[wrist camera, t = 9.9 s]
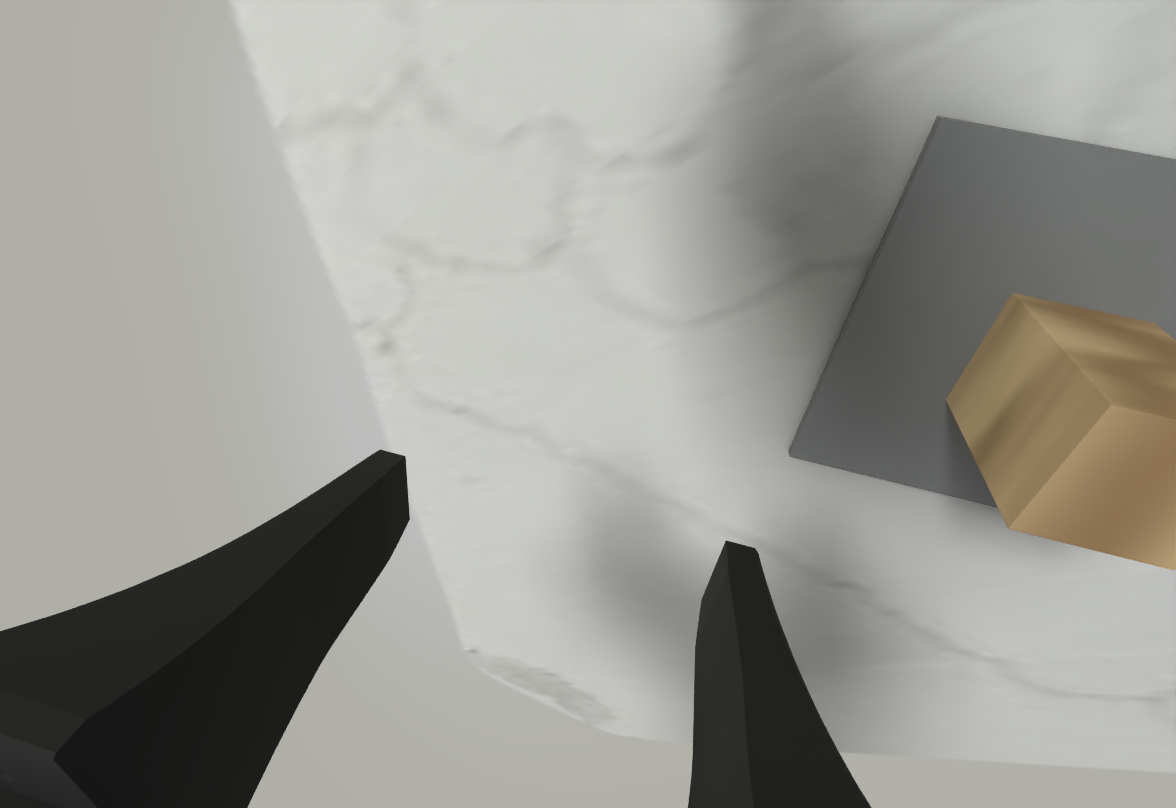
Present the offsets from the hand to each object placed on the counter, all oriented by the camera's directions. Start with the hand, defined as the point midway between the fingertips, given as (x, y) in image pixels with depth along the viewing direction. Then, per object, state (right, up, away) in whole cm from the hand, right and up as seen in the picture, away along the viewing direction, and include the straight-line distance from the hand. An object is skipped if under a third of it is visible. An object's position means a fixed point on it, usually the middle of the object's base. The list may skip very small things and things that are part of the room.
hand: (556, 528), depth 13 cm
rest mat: (+15, +4, +6) cm, 17 cm away
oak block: (+15, +4, +6) cm, 17 cm away
